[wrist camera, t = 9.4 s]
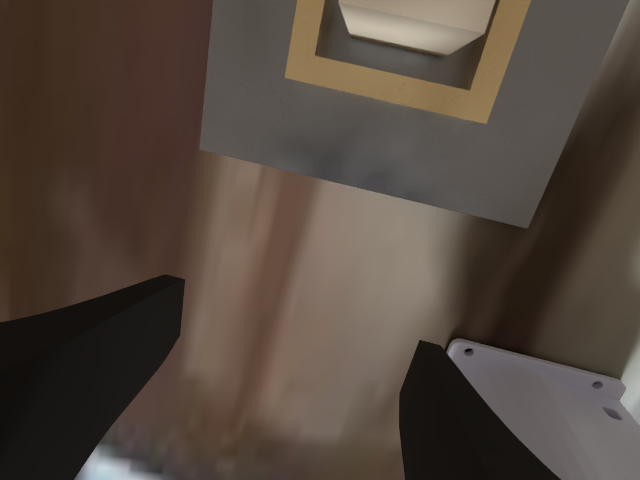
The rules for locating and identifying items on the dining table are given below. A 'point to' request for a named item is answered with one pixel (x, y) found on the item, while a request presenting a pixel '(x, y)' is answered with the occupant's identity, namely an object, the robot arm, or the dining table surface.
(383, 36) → the cream block
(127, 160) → the dining table surface
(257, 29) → the socket plate
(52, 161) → the dining table surface
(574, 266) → the dining table surface
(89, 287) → the dining table surface
